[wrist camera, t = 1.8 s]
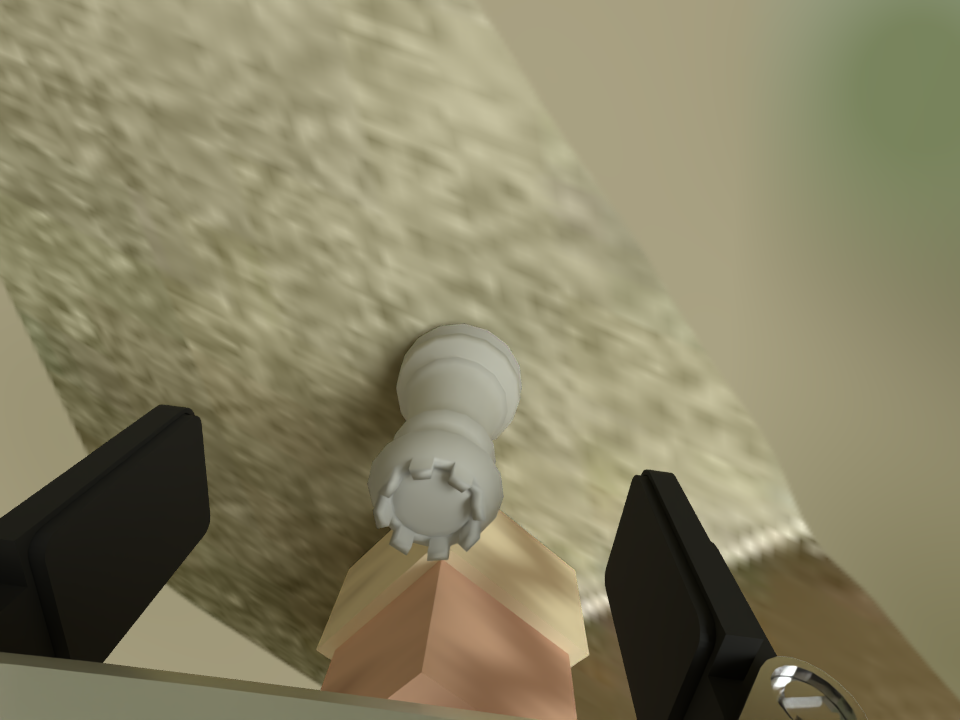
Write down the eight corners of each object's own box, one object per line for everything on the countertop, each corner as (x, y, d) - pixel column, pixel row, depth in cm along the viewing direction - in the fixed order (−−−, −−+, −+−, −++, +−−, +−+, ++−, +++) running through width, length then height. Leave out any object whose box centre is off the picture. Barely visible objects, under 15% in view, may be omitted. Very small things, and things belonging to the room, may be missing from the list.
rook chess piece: (401, 425, 19) (332, 584, 12) (402, 314, 18) (326, 417, 10) (515, 435, 19) (519, 603, 12) (527, 325, 18) (541, 437, 10)
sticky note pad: (575, 570, 21) (610, 784, 14) (466, 652, 23) (446, 878, 16) (453, 472, 20) (419, 651, 12) (348, 569, 22) (266, 773, 15)
